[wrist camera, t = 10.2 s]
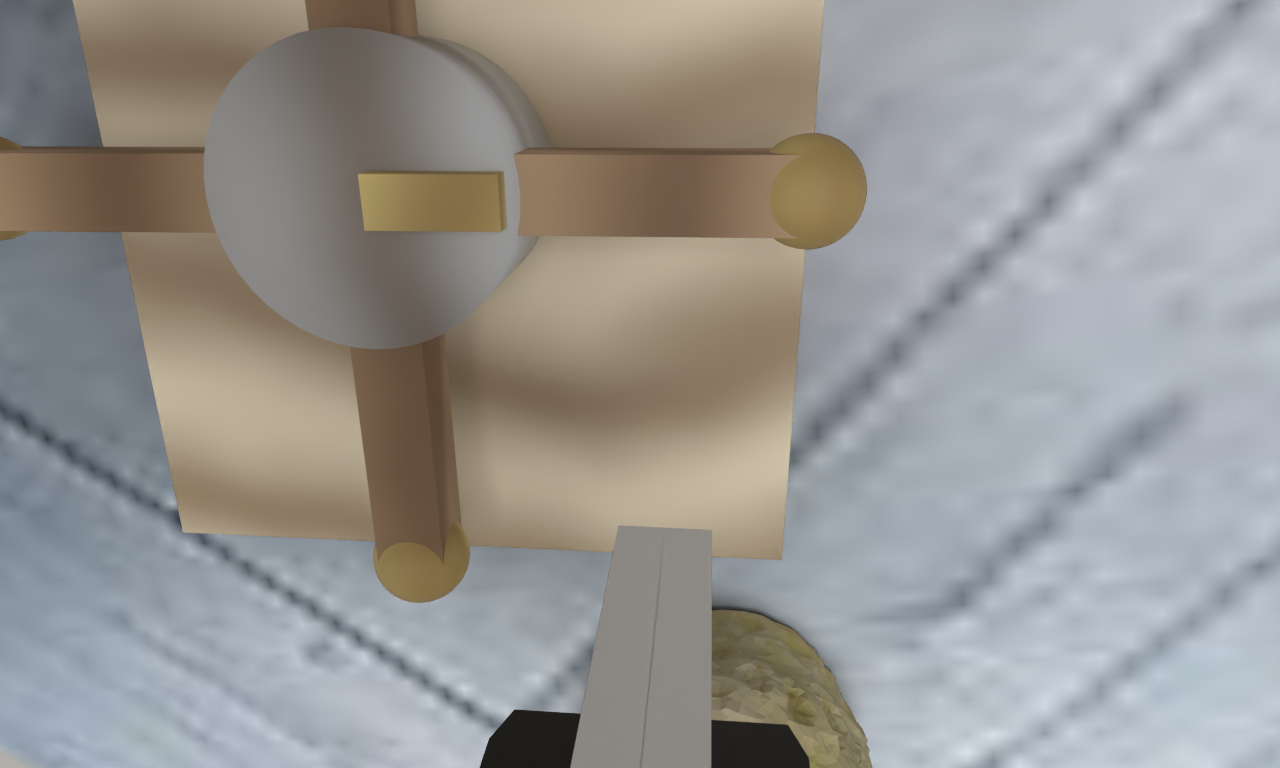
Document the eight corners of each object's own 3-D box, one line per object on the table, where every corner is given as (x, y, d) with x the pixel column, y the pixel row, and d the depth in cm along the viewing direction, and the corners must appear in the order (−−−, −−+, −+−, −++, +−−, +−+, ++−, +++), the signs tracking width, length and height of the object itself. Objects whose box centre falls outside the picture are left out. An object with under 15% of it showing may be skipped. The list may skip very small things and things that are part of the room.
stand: (-3, -532, 20) (-114, -626, 17) (858, -568, 19) (885, -676, 16) (202, 510, 30) (151, 554, 27) (777, 535, 28) (785, 584, 26)
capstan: (126, 519, 28) (-7, 622, 23) (-78, -313, 20) (-353, -448, 15) (814, 543, 26) (840, 660, 21) (883, -351, 19) (952, -516, 13)
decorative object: (724, 746, 36) (895, 950, 28) (509, 796, 31) (645, 1067, 23) (783, 556, 34) (987, 720, 26) (560, 574, 28) (734, 790, 20)
